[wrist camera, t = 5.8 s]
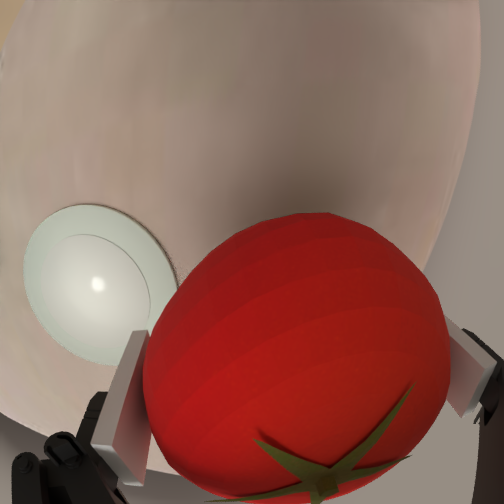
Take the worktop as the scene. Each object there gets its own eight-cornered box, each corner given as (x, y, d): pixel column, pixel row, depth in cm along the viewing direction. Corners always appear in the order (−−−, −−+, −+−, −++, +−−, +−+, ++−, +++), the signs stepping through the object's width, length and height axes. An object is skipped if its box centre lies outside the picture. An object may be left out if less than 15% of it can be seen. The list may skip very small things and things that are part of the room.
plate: (10, 221, 27) (5, 223, 26) (160, 188, 28) (157, 190, 27) (59, 361, 33) (55, 366, 32) (194, 356, 35) (193, 362, 33)
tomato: (136, 349, 16) (88, 511, 6) (241, 152, 13) (304, 147, 3) (293, 408, 19) (332, 540, 9) (408, 263, 16) (540, 365, 6)
